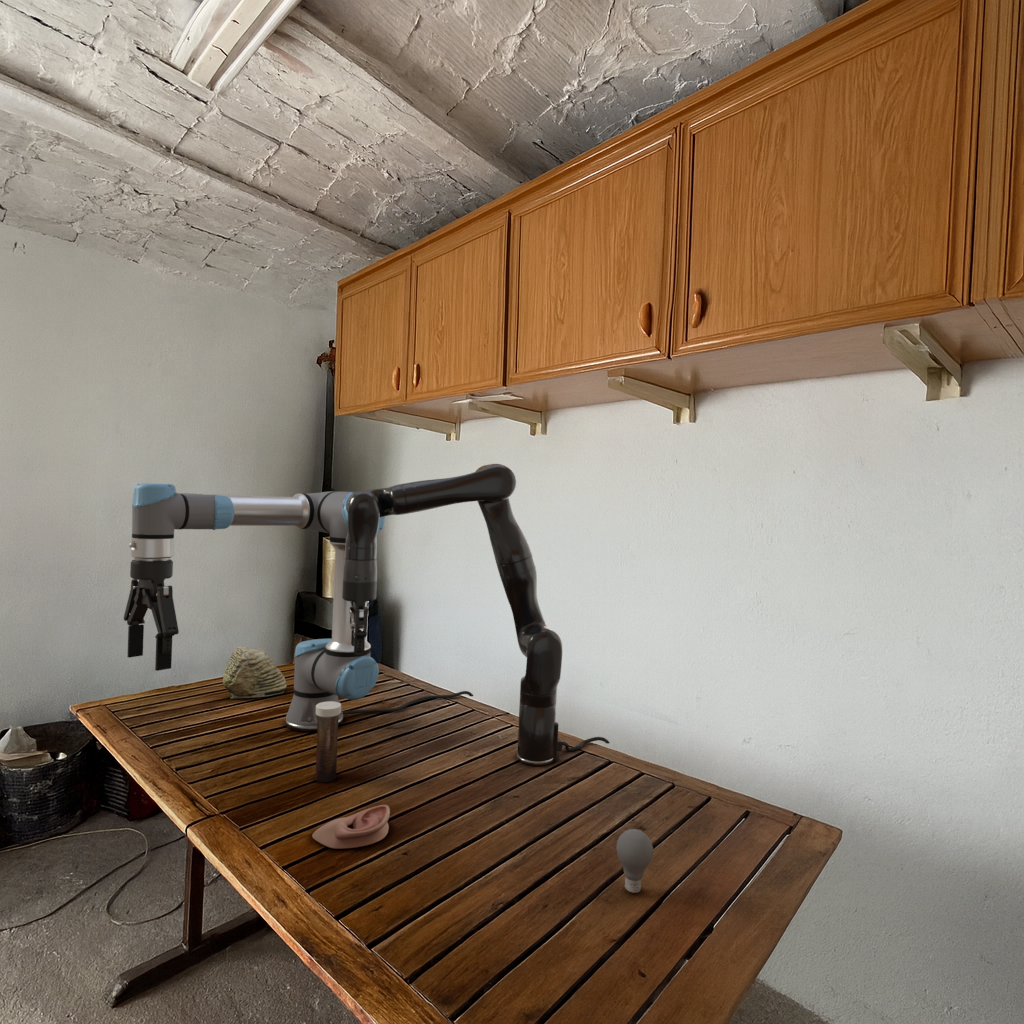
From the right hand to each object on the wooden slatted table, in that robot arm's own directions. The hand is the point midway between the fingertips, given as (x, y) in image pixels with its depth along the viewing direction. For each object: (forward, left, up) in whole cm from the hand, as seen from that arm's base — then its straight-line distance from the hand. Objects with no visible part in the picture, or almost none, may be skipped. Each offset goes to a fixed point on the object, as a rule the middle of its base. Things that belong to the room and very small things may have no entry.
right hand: (357, 649), depth 144 cm
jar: (+6, 0, -29) cm, 29 cm away
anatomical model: (+2, +25, -29) cm, 39 cm away
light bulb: (-41, +54, -29) cm, 74 cm away
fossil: (+25, -65, -29) cm, 76 cm away
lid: (+6, 0, -13) cm, 14 cm away
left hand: (+42, +1, -1) cm, 42 cm away
